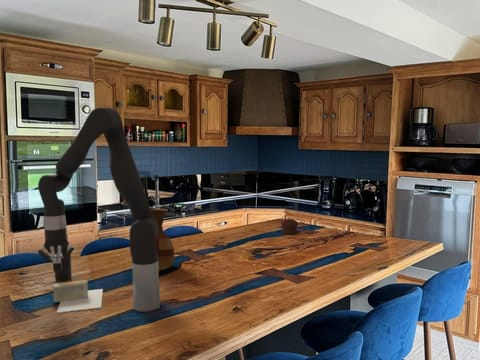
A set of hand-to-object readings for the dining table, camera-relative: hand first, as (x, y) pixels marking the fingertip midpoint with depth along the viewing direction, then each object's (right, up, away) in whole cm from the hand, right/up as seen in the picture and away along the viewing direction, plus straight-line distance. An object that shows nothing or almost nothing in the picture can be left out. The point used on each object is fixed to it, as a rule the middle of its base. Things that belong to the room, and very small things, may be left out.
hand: (57, 272), depth 154 cm
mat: (+8, -12, +3) cm, 14 cm away
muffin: (+102, -2, +120) cm, 158 cm away
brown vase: (+27, -9, +42) cm, 51 cm away
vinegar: (-11, -10, +29) cm, 33 cm away
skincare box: (-3, -8, +2) cm, 9 cm away
